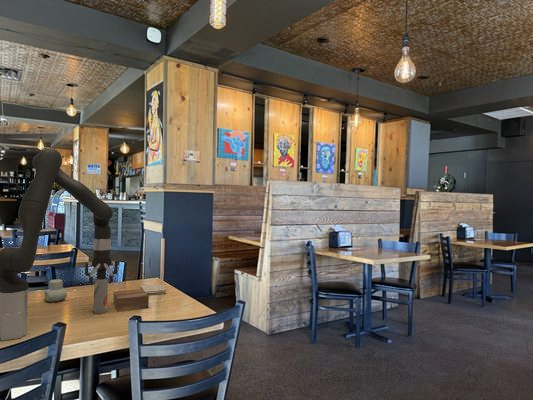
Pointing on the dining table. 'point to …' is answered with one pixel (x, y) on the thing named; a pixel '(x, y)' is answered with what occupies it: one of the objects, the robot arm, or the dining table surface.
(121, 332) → the dining table surface
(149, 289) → the washcloth
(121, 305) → the block
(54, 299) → the air freshener
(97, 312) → the lotion bottle
